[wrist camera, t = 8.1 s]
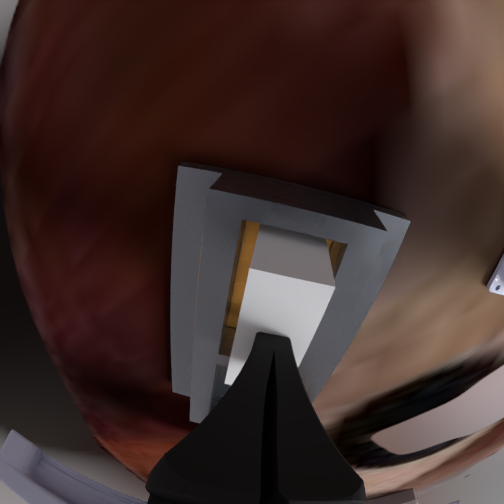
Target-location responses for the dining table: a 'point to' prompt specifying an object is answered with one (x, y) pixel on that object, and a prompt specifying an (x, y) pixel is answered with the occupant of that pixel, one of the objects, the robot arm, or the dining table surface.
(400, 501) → the gaming console
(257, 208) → the frame
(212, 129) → the dining table surface
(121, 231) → the dining table surface
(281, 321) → the white rectangular block
